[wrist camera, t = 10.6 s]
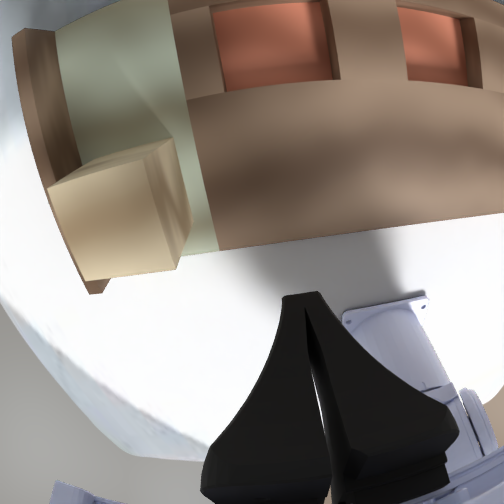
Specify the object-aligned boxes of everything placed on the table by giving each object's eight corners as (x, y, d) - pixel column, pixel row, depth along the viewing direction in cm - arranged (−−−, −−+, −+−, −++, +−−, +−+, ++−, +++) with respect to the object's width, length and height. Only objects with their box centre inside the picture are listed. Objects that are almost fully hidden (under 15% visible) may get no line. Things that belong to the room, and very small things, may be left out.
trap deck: (538, 197, 18) (572, 221, 14) (116, 252, 21) (89, 294, 16) (538, 30, 10) (578, 34, 6) (59, 40, 13) (11, 37, 8)
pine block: (193, 221, 17) (175, 269, 13) (118, 234, 18) (85, 281, 14) (173, 137, 15) (142, 159, 11) (94, 158, 15) (46, 188, 11)
